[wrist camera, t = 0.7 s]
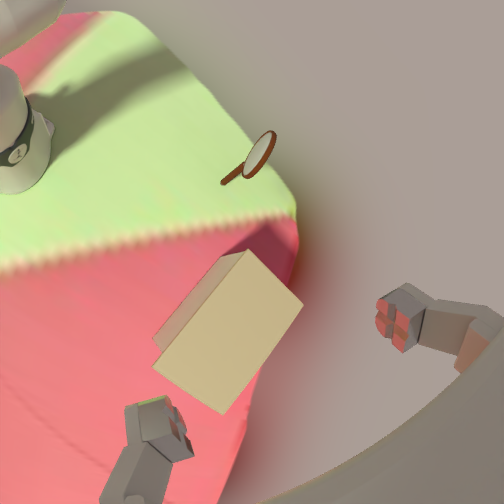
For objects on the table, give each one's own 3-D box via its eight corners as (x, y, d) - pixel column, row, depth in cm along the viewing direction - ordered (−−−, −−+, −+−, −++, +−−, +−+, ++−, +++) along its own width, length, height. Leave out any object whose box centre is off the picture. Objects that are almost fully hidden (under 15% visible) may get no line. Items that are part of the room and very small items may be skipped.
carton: (152, 338, 48) (163, 354, 38) (220, 256, 56) (247, 250, 45) (205, 379, 52) (229, 400, 41) (265, 300, 59) (300, 303, 49)
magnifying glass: (225, 164, 58) (276, 119, 41) (232, 168, 59) (285, 125, 41) (209, 200, 56) (258, 163, 38) (217, 204, 57) (268, 169, 39)
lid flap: (151, 366, 37) (151, 367, 36) (246, 249, 45) (248, 248, 45) (221, 413, 40) (222, 415, 40) (301, 304, 49) (303, 304, 48)
